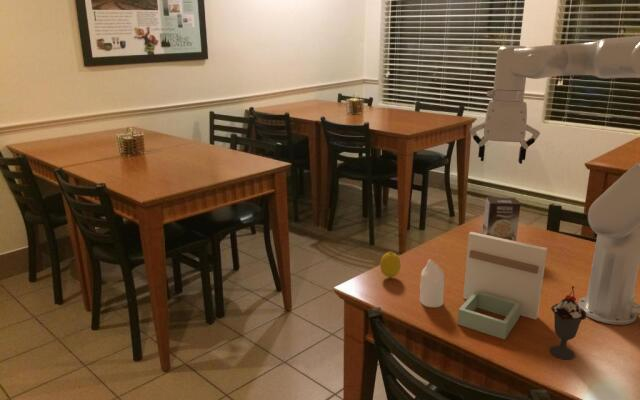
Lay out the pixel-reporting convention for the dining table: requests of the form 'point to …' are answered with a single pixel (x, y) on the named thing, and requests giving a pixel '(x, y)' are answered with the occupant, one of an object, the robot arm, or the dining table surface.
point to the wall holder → (501, 283)
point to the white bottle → (432, 285)
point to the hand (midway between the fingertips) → (500, 161)
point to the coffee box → (501, 217)
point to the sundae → (566, 325)
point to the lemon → (390, 264)
